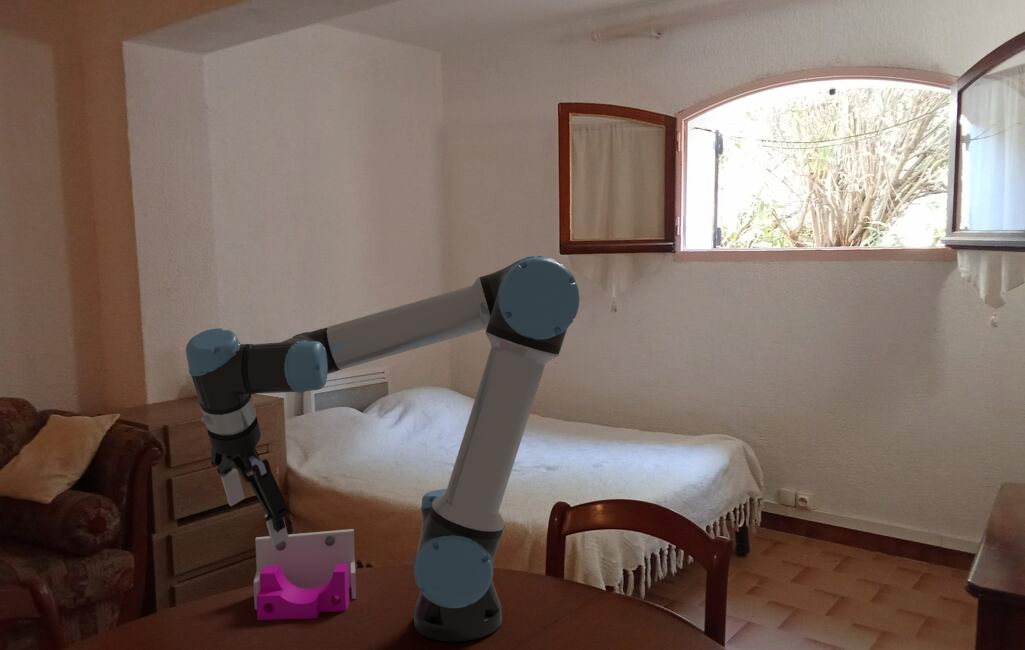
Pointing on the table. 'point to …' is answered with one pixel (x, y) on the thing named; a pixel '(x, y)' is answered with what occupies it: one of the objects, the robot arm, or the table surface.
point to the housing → (308, 558)
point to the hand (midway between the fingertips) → (258, 520)
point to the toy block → (300, 595)
